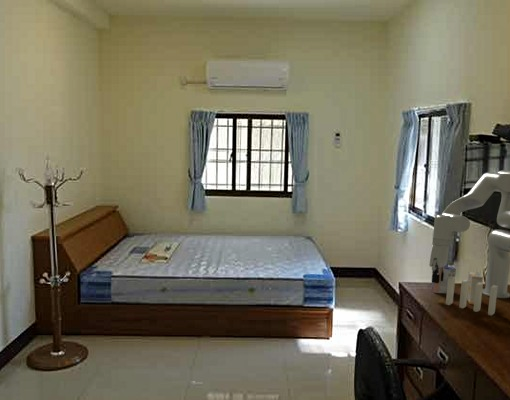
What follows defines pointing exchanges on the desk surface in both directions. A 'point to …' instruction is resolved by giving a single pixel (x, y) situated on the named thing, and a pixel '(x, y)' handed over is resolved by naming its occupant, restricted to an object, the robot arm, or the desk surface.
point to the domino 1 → (437, 285)
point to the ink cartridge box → (446, 278)
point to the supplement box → (473, 285)
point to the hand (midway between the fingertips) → (437, 281)
